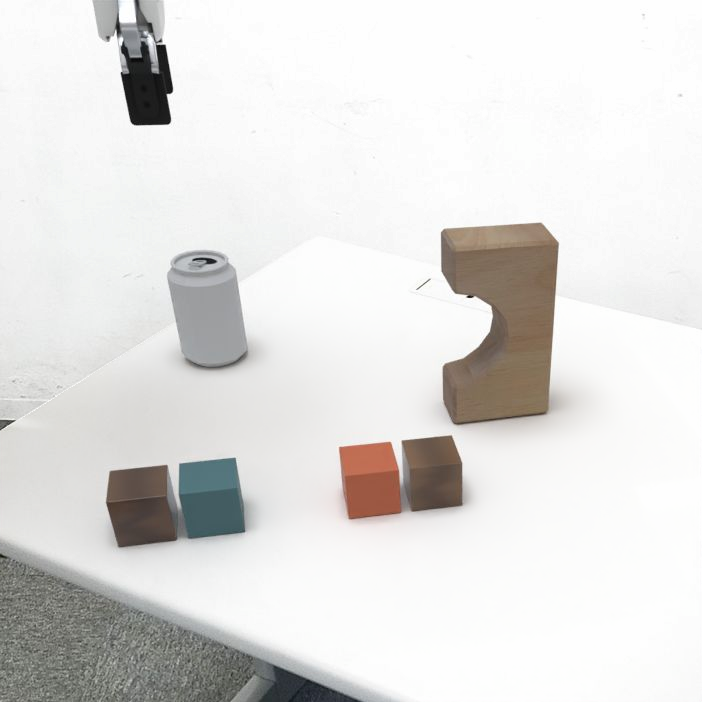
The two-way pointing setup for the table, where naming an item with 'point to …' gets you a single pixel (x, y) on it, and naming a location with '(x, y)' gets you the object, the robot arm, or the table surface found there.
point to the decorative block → (503, 319)
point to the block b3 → (370, 479)
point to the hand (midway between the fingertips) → (153, 108)
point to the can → (207, 307)
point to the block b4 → (432, 472)
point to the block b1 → (142, 505)
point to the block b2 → (211, 497)
